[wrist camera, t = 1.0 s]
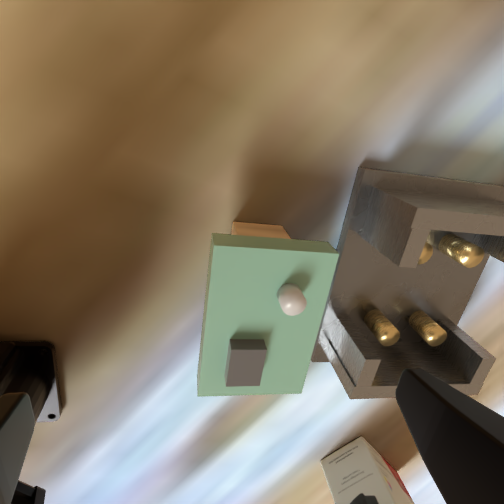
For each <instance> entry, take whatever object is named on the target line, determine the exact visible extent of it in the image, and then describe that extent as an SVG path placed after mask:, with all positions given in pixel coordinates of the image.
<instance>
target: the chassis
mask: <svg viewBox="0 0 504 504" xmlns="http://www.w3.org/2000/svg"><path fill="white" fill-rule="evenodd" d="M336 251H337V252H338V253H339V257H338V261H337V264H336V268H335V272H334V275H333V279H332V283H331V286H330V290H329V294H328V297H327V301H326V305H325V308H324V312H323V316H322V319H321V323H320V327H319V330H318V334H317V338H316V341H315V345H314V349H313V352H312V356H311V361H312V362H330V363H331V364H332V366H333V368H334V370H335V372H336V374H337V376H338V377H339V379H340V381H341V383H342V385H343V387H344V389H345V391H346V392H347V394H348V396H349V398H350V399H369V398H396V395H395V391H396V388H397V385H398V382H399V379H400V377H401V374H402V371H403V370H404V369H406V368H421V369H423V370H425V371H426V372H428V373H430V374H432V375H433V376H435V377H437V378H438V379H440V380H442V381H443V382H445V383H447V384H448V385H450V386H452V387H454V388H455V389H457V390H459V391H460V392H462V393H464V394H465V395H478V393H479V391H480V389H481V387H482V386H483V384H484V383H483V382H484V380H485V378H486V376H487V374H488V372H489V371H490V369H491V367H492V365H493V363H494V362H495V360H496V358H495V357H494V356H492V355H491V354H490V353H489V352H488V351H486V350H485V349H484V348H483V347H482V346H480V345H479V344H478V343H477V342H476V341H475V340H473V339H472V338H471V337H470V336H469V335H467V334H466V333H465V332H464V331H463V330H461V329H460V328H459V327H458V326H457V324H458V322H459V320H460V318H461V316H462V314H463V311H464V309H465V307H466V305H467V303H468V301H469V299H470V297H471V294H472V292H473V290H474V288H475V286H476V284H477V282H478V280H479V277H480V275H481V273H482V271H483V269H484V267H485V265H486V263H487V260H488V258H489V256H490V255H491V256H493V257H495V258H496V259H498V260H500V261H502V262H504V186H500V185H493V184H485V183H477V182H470V181H462V180H454V179H446V178H439V177H431V176H423V175H416V174H408V173H400V172H392V171H385V170H377V169H369V168H362V167H359V168H358V171H357V175H356V179H355V183H354V186H353V190H352V194H351V197H350V201H349V205H348V209H347V212H346V216H345V220H344V224H343V227H342V231H341V235H340V239H339V242H338V246H337V250H336Z"/></svg>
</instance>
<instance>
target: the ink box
mask: <svg viewBox="0 0 504 504" xmlns="http://www.w3.org/2000/svg"><path fill="white" fill-rule="evenodd" d="M321 467H322V469H323V472H324V475H325V478H326V480H327V483H328V486H329V489H330V491H331V494H332V497H333V500H334V503H335V504H414V502H413V501H412V499H411V497H410V495H409V493H408V491H407V490H406V488H405V486H404V484H403V482H402V480H401V478H400V477H399V475H398V473H397V472H396V471H395V470H394V469H393V468H392V467H391V466H390V464H388V462H387V461H386V460H385V459H384V458H383V457H382V456H381V455H380V454H379V453H378V452H377V451H376V450H375V449H374V448H373V447H372V446H371V445H370V444H369V443H368V442H367V441H366V440H365V439H364V437H362V436H361V437H359V438H357V439H356V440H354V441H352V442H351V443H349V444H347V445H345V446H344V447H342V448H341V449H339V450H337V451H335V452H334V453H332V454H331V455H329V456H328V457H326V458H324V459H323V460H321Z"/></svg>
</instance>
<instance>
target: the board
mask: <svg viewBox="0 0 504 504" xmlns="http://www.w3.org/2000/svg"><path fill="white" fill-rule="evenodd" d="M338 257H339V253H338V252H337V251H336V250H335V249H334V248H333V247H332V246H331V245H330V244H329V243H328V242H324V241H311V240H297V239H284V238H271V237H257V236H244V235H231V234H217V233H212V236H211V246H210V256H209V266H208V275H207V285H206V295H205V304H204V314H203V324H202V334H201V343H200V353H199V363H198V373H197V390H198V396H232V395H265V394H299V393H302V389H303V385H304V382H305V378H306V374H307V371H308V367H309V363H310V360H311V356H312V352H313V349H314V345H315V341H316V338H317V334H318V330H319V327H320V323H321V319H322V316H323V312H324V308H325V305H326V301H327V297H328V294H329V290H330V286H331V283H332V279H333V275H334V272H335V268H336V264H337V261H338Z"/></svg>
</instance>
